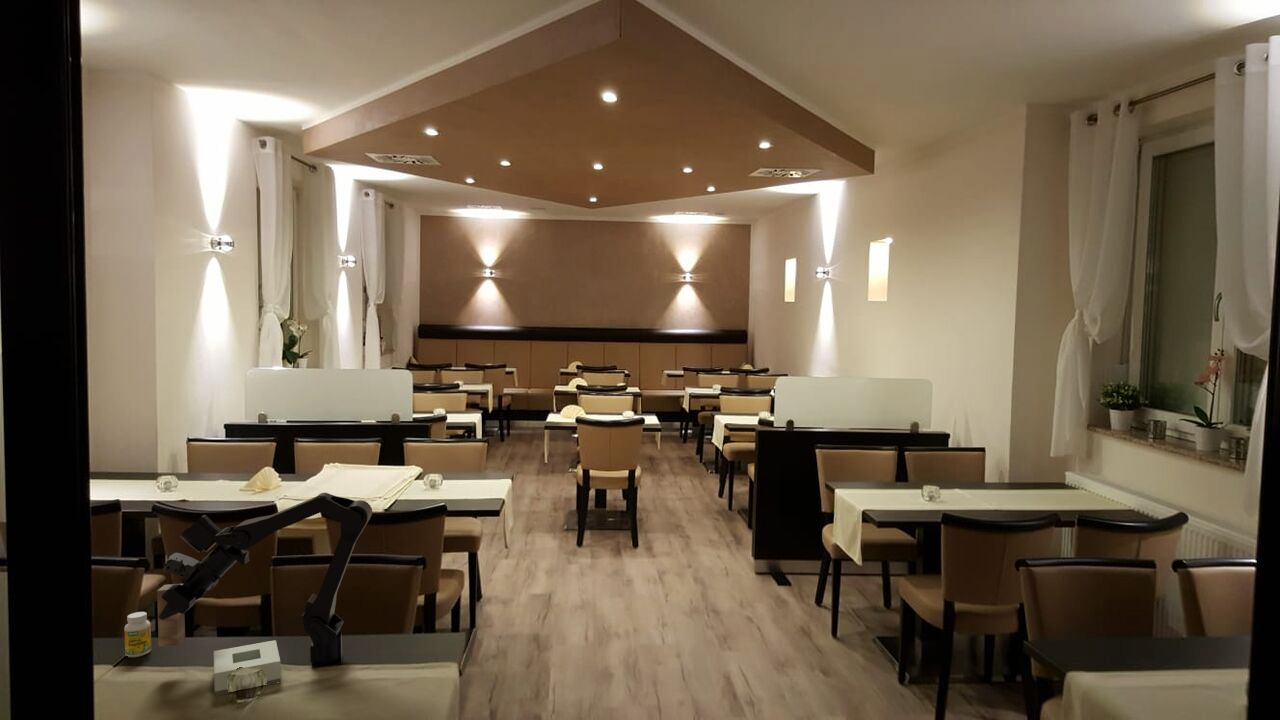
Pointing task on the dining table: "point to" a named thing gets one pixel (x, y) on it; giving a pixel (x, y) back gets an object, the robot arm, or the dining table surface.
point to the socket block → (246, 663)
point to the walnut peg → (169, 623)
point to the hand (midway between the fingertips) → (164, 614)
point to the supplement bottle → (137, 635)
